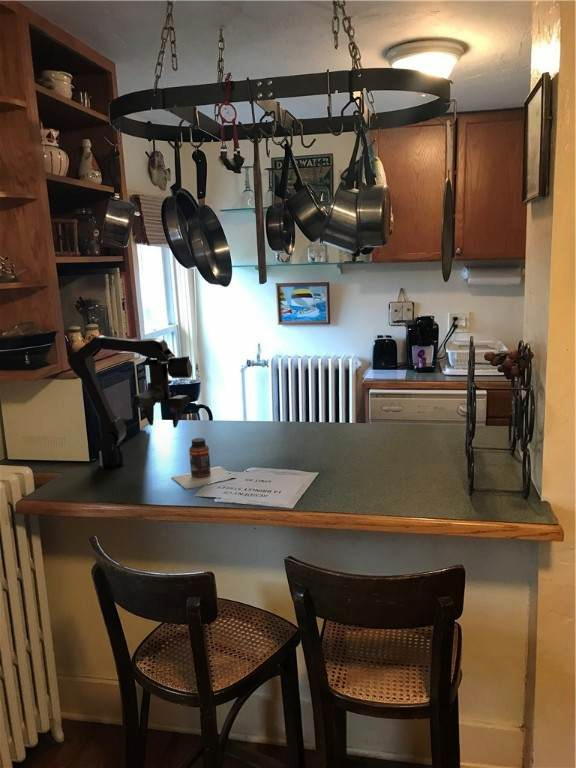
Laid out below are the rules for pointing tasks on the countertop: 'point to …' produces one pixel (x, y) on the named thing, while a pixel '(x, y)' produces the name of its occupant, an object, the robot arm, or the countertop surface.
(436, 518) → the countertop surface
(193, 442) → the supplement bottle
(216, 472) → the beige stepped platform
